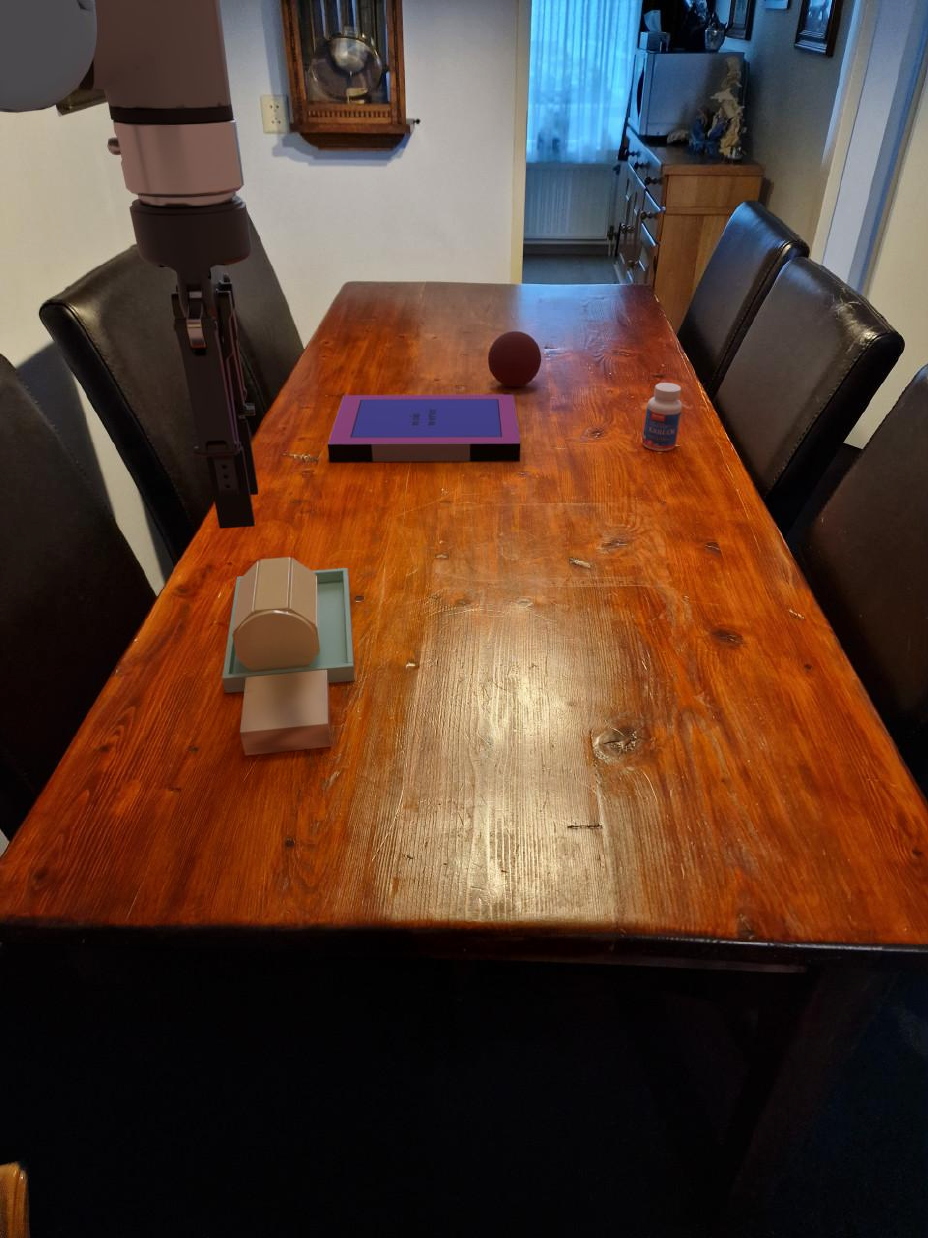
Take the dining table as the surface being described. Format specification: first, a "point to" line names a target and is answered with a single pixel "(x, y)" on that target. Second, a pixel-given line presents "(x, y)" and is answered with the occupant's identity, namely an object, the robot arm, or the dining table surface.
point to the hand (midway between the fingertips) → (239, 508)
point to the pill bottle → (662, 418)
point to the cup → (277, 616)
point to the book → (425, 429)
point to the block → (286, 712)
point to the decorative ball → (514, 359)
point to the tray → (332, 636)
